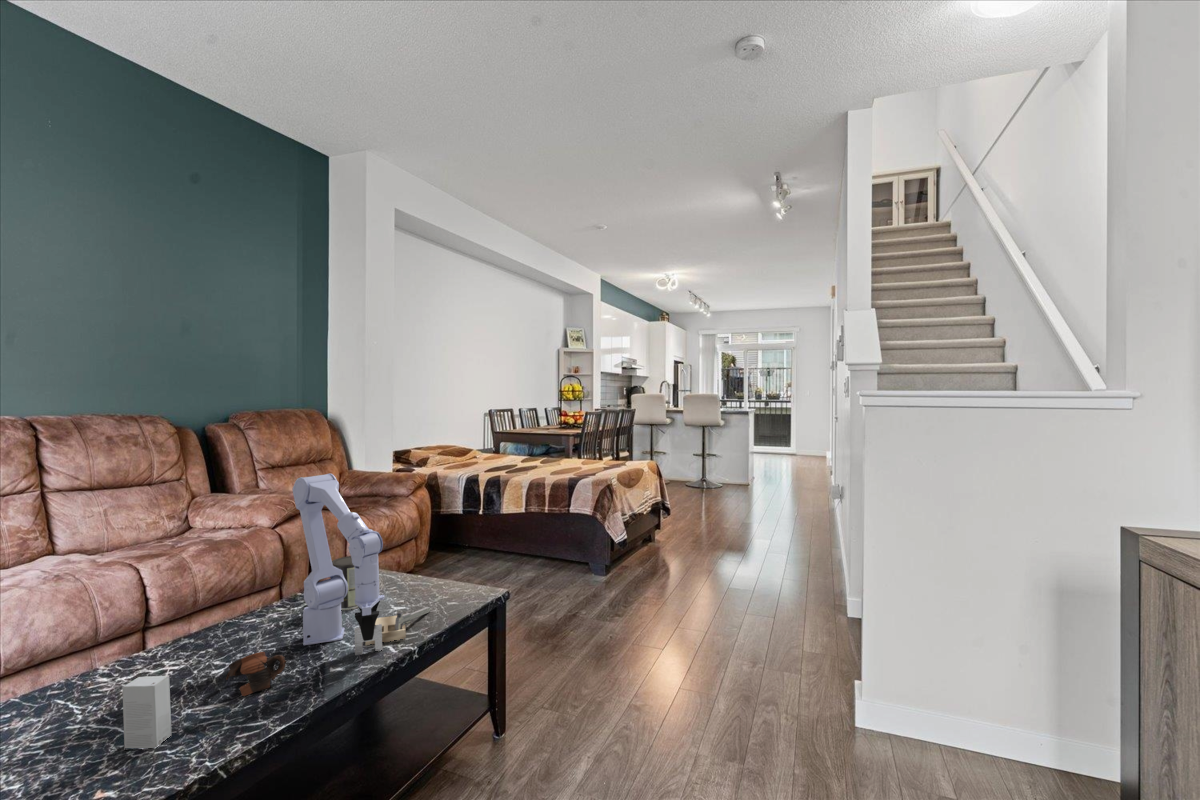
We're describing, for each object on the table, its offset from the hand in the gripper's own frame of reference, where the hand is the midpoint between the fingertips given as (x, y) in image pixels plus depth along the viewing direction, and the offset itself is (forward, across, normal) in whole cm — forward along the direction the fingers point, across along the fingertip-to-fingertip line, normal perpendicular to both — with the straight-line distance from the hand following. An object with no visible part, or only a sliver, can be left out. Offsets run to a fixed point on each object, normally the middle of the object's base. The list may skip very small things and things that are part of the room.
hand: (368, 634), depth 148 cm
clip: (+4, 0, 0) cm, 4 cm away
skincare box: (+5, -27, +38) cm, 47 cm away
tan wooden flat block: (+4, +10, -4) cm, 12 cm away
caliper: (+4, +14, -12) cm, 19 cm away
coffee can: (+4, +39, +7) cm, 40 cm away
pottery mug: (+5, -9, +23) cm, 25 cm away
